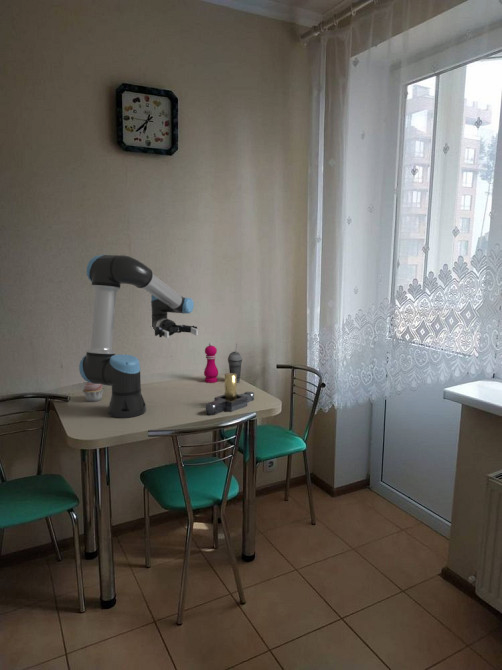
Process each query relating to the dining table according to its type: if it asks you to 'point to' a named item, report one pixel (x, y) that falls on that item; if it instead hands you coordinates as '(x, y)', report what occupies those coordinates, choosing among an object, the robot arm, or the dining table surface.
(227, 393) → the gold tall cylinder
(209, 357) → the pepper mill
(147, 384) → the dining table surface
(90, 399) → the cupcake
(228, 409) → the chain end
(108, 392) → the dining table surface
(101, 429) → the dining table surface
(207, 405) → the chain end
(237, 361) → the beverage cup
